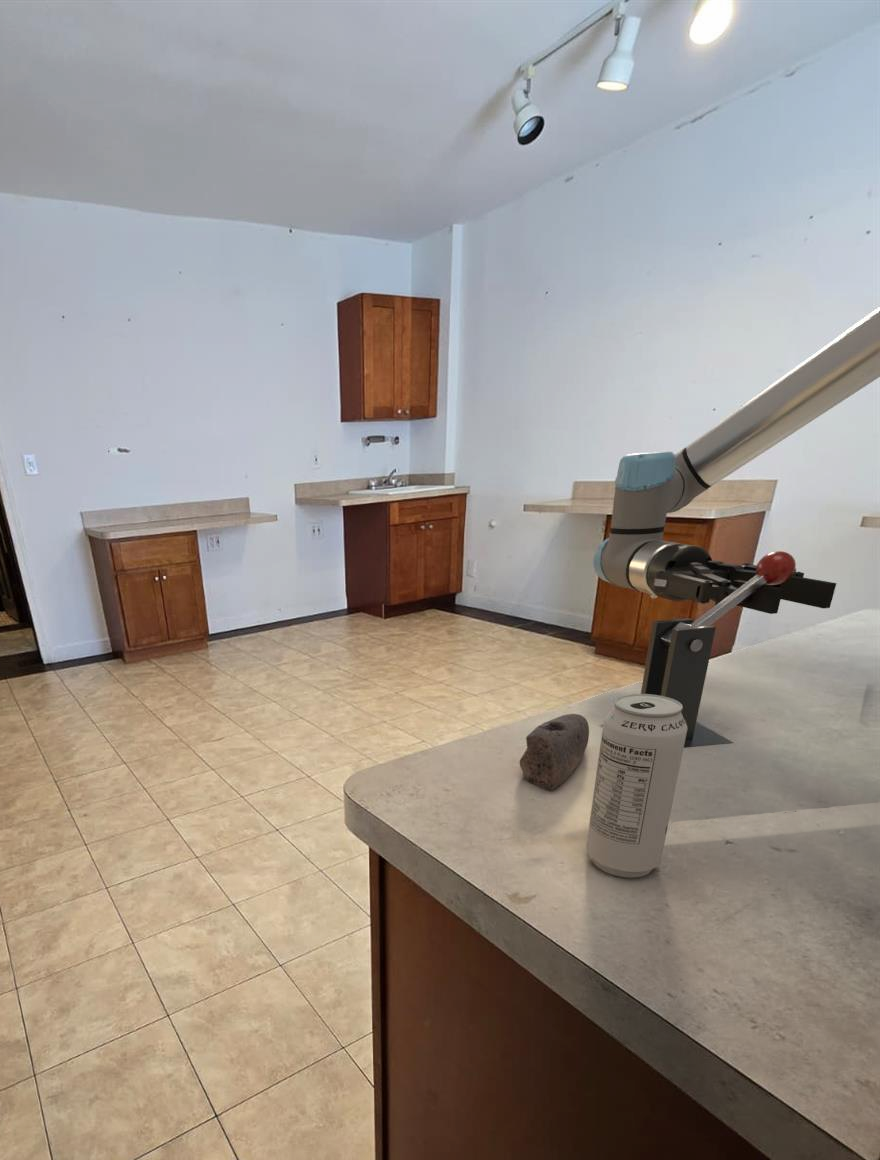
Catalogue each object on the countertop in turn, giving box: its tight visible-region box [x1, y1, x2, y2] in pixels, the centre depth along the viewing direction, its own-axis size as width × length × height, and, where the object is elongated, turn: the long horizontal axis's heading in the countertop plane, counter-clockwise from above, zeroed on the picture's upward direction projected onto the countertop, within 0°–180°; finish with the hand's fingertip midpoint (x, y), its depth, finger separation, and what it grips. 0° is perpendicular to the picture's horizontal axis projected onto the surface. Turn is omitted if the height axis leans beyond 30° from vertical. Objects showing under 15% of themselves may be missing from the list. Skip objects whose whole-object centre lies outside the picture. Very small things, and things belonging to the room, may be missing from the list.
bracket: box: [598, 617, 735, 749], centre depth 76 cm, size 12×9×15 cm
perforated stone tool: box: [519, 713, 590, 792], centre depth 72 cm, size 15×5×7 cm, turn 139°
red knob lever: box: [660, 550, 797, 651], centre depth 72 cm, size 15×4×4 cm
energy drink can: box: [585, 693, 687, 879], centre depth 54 cm, size 6×6×15 cm
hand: (803, 598), depth 70 cm, fingers open, 6 cm apart
